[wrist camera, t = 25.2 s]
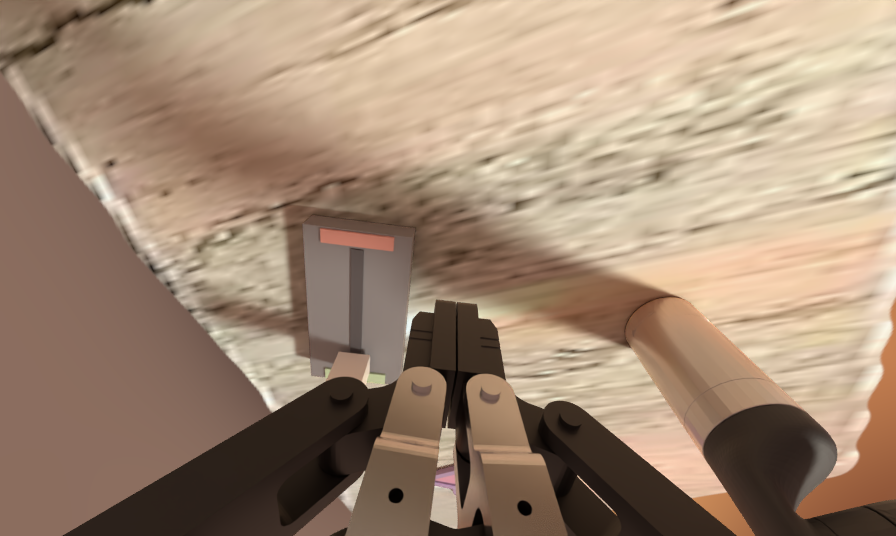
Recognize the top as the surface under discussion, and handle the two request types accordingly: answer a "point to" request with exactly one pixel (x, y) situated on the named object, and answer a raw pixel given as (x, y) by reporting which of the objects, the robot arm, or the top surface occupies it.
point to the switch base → (357, 293)
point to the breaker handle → (351, 366)
